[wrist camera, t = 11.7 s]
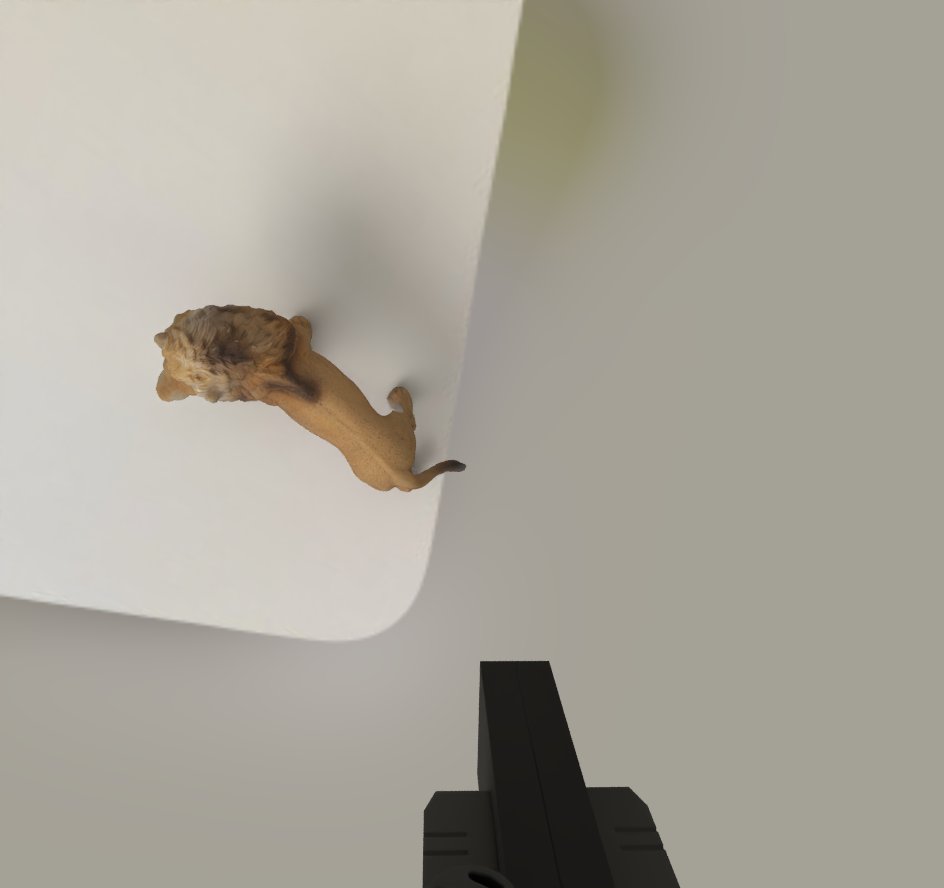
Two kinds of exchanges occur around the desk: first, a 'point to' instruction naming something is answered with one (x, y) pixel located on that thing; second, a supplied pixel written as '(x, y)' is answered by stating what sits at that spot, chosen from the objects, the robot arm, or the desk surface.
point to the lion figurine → (291, 388)
